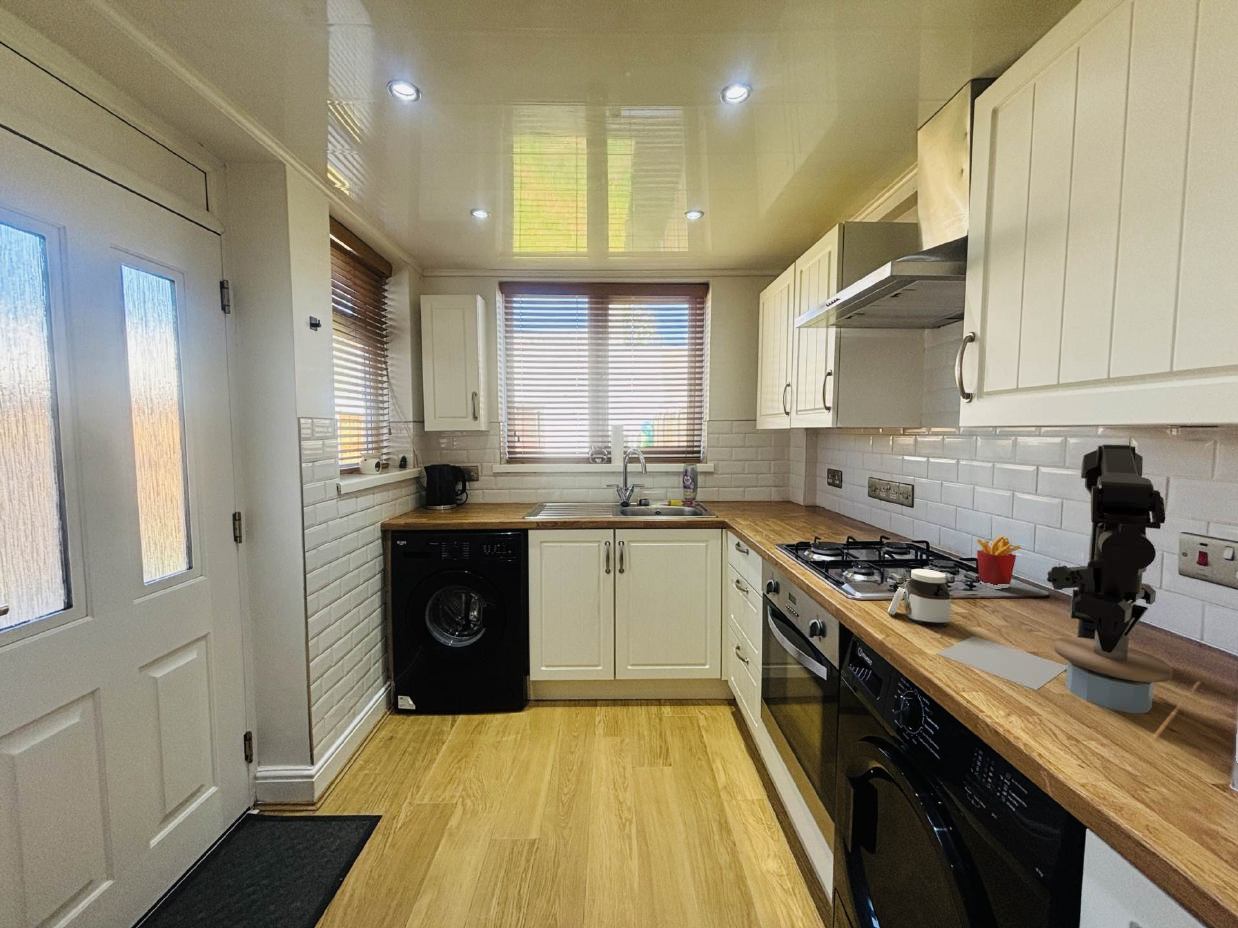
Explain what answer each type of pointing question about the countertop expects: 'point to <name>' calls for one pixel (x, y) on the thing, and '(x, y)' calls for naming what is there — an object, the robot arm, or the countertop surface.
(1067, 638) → the lid
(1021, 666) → the mat
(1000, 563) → the french fries
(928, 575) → the spread jar
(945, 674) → the countertop surface
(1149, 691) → the bowl
